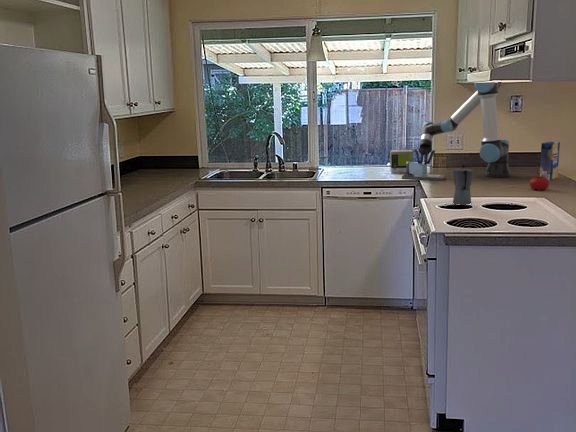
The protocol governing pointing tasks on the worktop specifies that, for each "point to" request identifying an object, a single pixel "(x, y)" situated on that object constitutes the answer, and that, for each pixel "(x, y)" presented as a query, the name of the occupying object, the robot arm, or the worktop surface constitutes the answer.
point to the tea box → (400, 160)
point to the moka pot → (462, 185)
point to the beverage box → (549, 160)
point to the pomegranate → (539, 183)
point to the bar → (416, 168)
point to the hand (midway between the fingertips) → (422, 172)
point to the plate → (429, 177)
